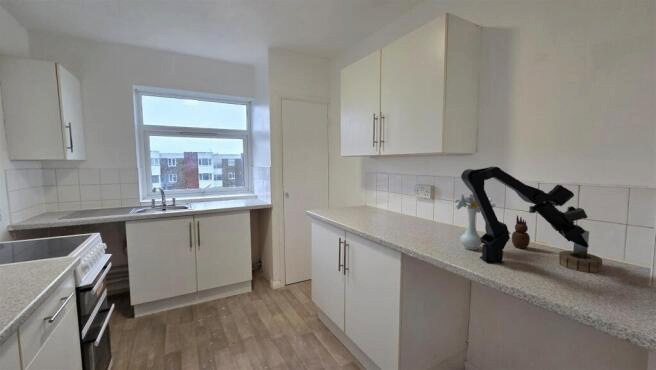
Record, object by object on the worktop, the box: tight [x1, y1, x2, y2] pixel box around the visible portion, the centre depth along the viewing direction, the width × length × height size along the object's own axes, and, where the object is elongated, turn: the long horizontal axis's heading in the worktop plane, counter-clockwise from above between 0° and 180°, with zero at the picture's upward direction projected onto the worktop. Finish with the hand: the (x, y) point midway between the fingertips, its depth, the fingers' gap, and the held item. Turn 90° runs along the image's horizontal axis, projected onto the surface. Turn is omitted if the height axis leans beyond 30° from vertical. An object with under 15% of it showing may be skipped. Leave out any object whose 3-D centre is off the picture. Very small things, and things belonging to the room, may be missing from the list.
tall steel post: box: [572, 229, 590, 259], centre depth 107 cm, size 4×4×12 cm
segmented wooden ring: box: [558, 250, 603, 274], centre depth 107 cm, size 12×12×4 cm
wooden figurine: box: [511, 214, 531, 250], centre depth 129 cm, size 7×6×15 cm
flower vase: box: [454, 193, 496, 251], centre depth 130 cm, size 13×18×25 cm
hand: (585, 245), depth 106 cm, fingers closed on tall steel post, 4 cm apart
